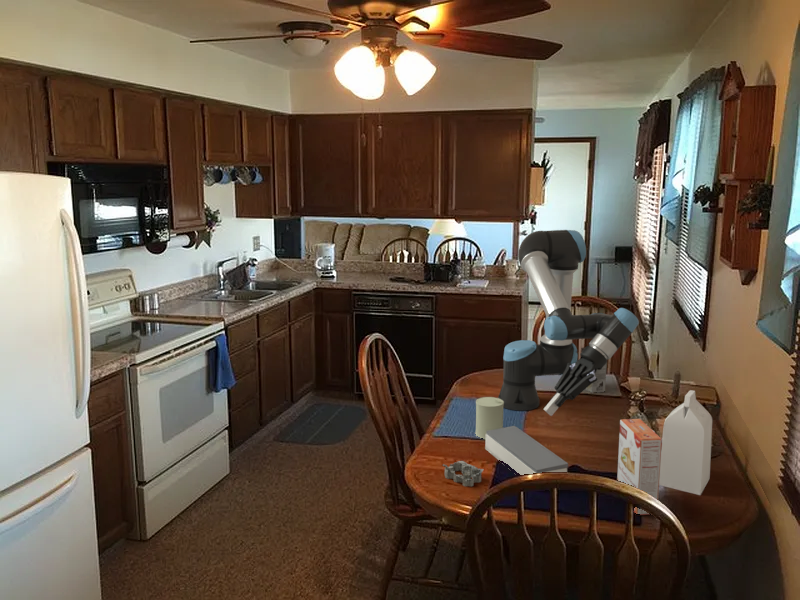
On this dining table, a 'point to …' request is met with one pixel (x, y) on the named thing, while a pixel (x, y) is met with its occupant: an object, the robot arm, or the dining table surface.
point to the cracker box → (639, 457)
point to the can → (488, 415)
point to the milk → (686, 447)
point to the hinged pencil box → (510, 457)
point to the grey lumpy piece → (467, 473)
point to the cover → (527, 449)
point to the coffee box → (598, 380)
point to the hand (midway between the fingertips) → (547, 412)
